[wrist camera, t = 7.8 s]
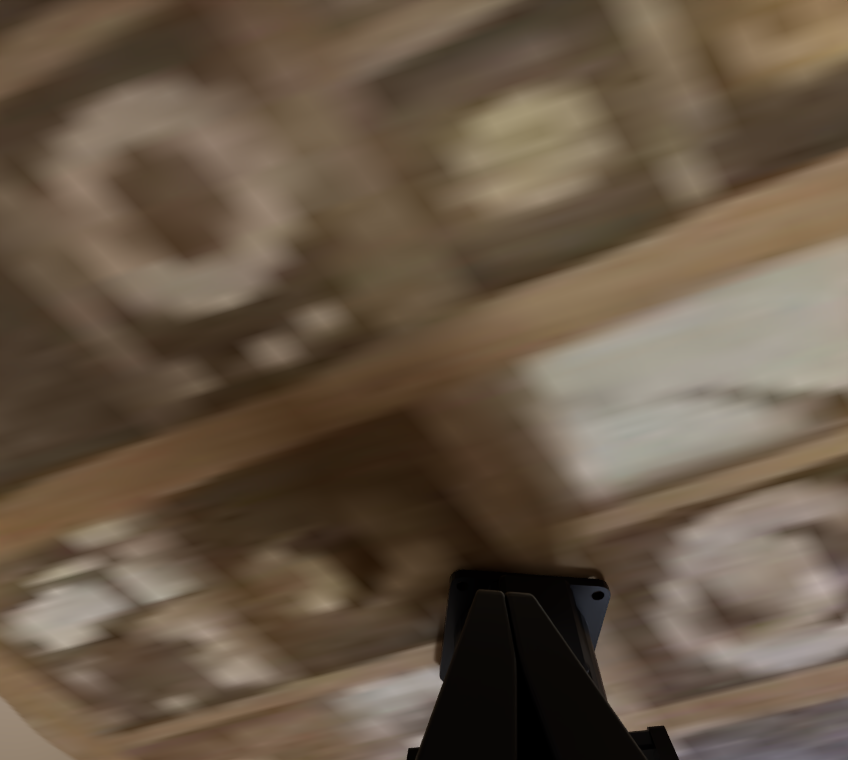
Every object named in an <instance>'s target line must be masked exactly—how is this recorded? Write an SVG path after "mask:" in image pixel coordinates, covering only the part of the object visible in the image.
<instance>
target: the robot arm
mask: <svg viewBox="0 0 848 760" xmlns="http://www.w3.org/2000/svg"><path fill="white" fill-rule="evenodd" d="M459 582H466V583H459ZM596 591H599V592H596ZM594 592H596V593H594ZM609 599H610V591H609V587H608V585H607V583H606V582H605V581H603V580H599V579H588V578H574V577H559V576H545V575H531V574H516V573H502V572H488V571H473V570H458V571H456V572H454V573H453V574H452V575H451V577H450V584H449V593H448V601H447V610H446V618H445V627H444V635H443V644H442V652H441V661H440V679H441V680H442V681H443V684H442V687H441V690H440V693H439V695H438V698H437V701H436V704H435V706H434V709H433V712H432V715H431V717H430V720H429V723H428V726H427V728H426V731H425V734H424V737H423V739H422V742H421V745H420V747H416V748H409V749H408V754H407V760H679V759H678V756H677V754H676V752H675V749H674V747H673V745H672V743H671V740H670V738H669V736H668V734H667V731H666V729H665V727H664V726H654V727H647V730H644V731H632V732H628V731H627V729H626V728H625V727H624V725H623V724H622V722H621V721H620V719H619V718H618V716H617V715H616V714H615V712H614V711H613V709H612V708H611V706H610V705H609V703H608V701H607V697H606V694H605V690H604V686H603V682H602V678H601V674H600V671H599V667H598V663H597V659H596V655H595V652H594V651H595V648H596V644H597V641H598V637H599V634H600V630H601V627H602V623H603V620H604V617H605V613H606V610H607V606H608V603H609Z"/></svg>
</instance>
